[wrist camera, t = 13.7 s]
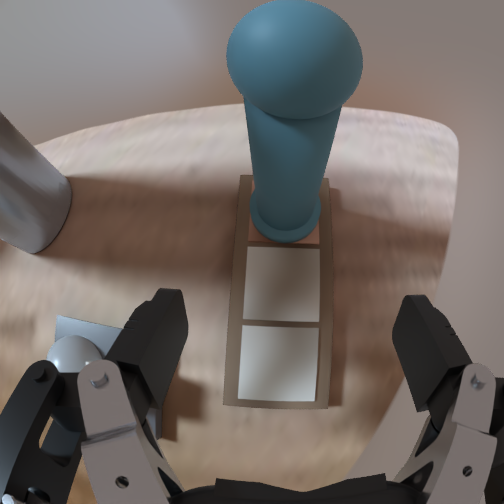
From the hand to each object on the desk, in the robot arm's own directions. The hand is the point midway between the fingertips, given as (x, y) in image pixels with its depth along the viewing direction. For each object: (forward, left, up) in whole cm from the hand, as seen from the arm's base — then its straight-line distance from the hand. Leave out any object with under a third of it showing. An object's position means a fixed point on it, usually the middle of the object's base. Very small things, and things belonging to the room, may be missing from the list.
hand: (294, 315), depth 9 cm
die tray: (-13, -5, -11) cm, 18 cm away
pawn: (0, +8, -8) cm, 11 cm away
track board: (0, +3, -9) cm, 10 cm away
